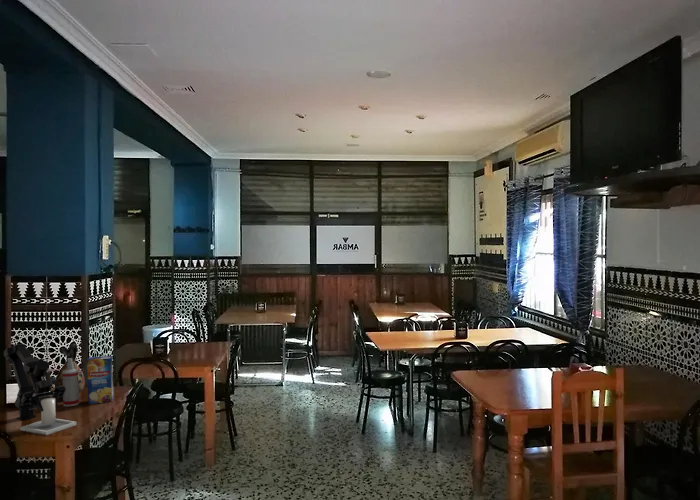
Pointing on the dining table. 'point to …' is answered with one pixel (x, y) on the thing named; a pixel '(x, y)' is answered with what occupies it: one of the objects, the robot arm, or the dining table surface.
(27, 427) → the tray
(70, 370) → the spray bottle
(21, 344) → the robot arm
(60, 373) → the ceramic jug
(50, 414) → the grey rounded cylinder
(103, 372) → the juice carton
